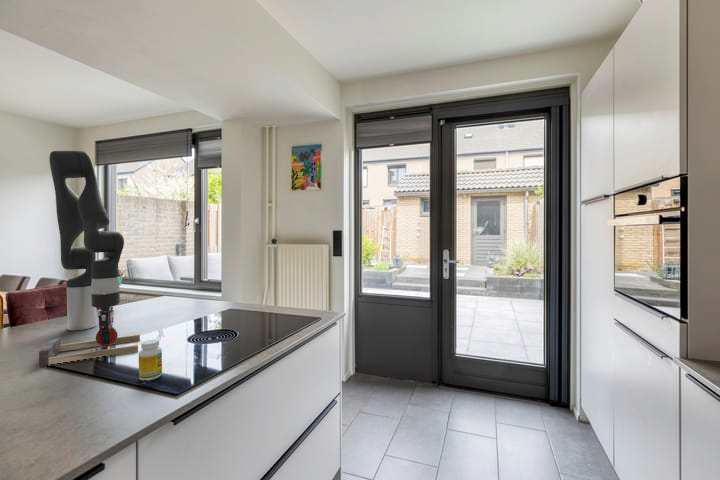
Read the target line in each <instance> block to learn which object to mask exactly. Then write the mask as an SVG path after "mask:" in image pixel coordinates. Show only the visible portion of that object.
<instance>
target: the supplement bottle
mask: <svg viewBox="0 0 720 480" xmlns="http://www.w3.org/2000/svg"><path fill="white" fill-rule="evenodd" d="M159 345H160V341H159V339H148V340H145V341H142V342H141V344H140V346H141V350H140V351H138V378H139V380H140V381H144V380H145V381H146V380H147V381H152V380H155V379H158V378H160V377H161V376H162V375H163V359H162V358H163V357H162V356H163V352H162V351H163V350H162V348H161V347H159Z"/></svg>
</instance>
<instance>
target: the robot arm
mask: <svg viewBox="0 0 720 480" xmlns="http://www.w3.org/2000/svg"><path fill="white" fill-rule="evenodd" d="M48 162H49V167H50V172H51V177H52V182H53V187H54V194H55V204H56V205H55V206H56V208H55V209H56V220H57V224H58V225H57V226H58V230H59V237H60V239H59V240H60V241H59V242H60V263H61V267H62V268H63V270H66V271H67V270H68V271H71V270H74V271H75V270H85V271H84V272H83V273H82V274H80V275H78V276H76V277H72V278H68V279H67V280H66V283H65V285H66V311H67V314H66V315H67V330H68V331H81V330H87V329H91V328H95V327H96V326H97V321H98V326H99V327H98V328H99V329H98V331H99V333H100V334H101V344H102V345H105V344H109V343H110V326H111V327H113V323H114V321H115V320H114V319H115V318H114V315H115V309H114V306H118V305H119V304H120V303H121V296H120V294H121V293H120V288H121V287H120V279H119V264H120V263H119V262H120V259H121V255H122V253H123V249H124V245H125V240H124V236H123V234H122V233H120V232H119V231H116V230H101V229H104V228H106V227H108V225H110V218H109V215H108V213H107V210H106V208H105V206H104V203H103V200H102V196H101V192H100V188H99V183H98V179H97V175H96V171H95V166H94V163H93V160H92V158H91V156H90V154H89V153H88V152H86V151H82V150H52V151H51V152H50V154H49V161H48ZM79 178H80V179H81V178H84V180H85V185H84V188H83V189H82V191H81V193H80V196H79V195H78V194H77V193H75V191H73V189H72V188H71V187H70V186H69V185H68V183H67V181H66V180H67V179H79ZM82 233H83V246H73V245H74V243H75V241H76V240H77V238H78V237H79V236H80V235H81V234H82ZM98 253H100V254H101V253H106V254H105V256H104V257H102V258H101V259H96V257H97V254H98ZM97 308H100V310H99V312H97ZM97 317H98V318H97ZM97 319H98V320H97ZM104 326H107V328H105V329H103V327H104Z"/></svg>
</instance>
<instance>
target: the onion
mask: <svg viewBox="0 0 720 480" xmlns="http://www.w3.org/2000/svg"><path fill="white" fill-rule="evenodd" d="M105 328H107V326H104V327H103V329H105ZM117 337H119V335H118V332H117V330H116V329H115V328H114V327H113V326H112V327H111V326H110V343H109V344H105V345H102V344H101V334H100V333H99V330H98V331H97V332H96V335H95V340H96V342H97V343H98V344H100V345H101V346H100V347H103V348H109V347H110V346H111V345H114V344H113V343H114V342H115V341H116V339H117Z"/></svg>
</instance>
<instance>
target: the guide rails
mask: <svg viewBox="0 0 720 480" xmlns="http://www.w3.org/2000/svg"><path fill="white" fill-rule="evenodd" d="M137 341H138V342H139V341H141V334H140V333H137V334H131V335H122V336H117V339H116V341H115V342H114V343H113V344H112V345H117V344H124V343H130V342H131V343H132V342H137ZM96 347H102V346H101V345H100V344H98V343H97V342H96V339H94V340H93V339H91V340H85V341H78V342H71V343H63V344H61V336H60V337H54V338H53V337H52V338H51V339H50V340H49V341H48V342H47V343H46V344H45V345H44V346H43V347H42V348H41V349H40V350H39V351H38V360H39V361H38V362H39V363H38V364H39V368H41V367H48V366H51V365H50V364H55V365H58V364H57V363H61V364H64V363H63V362H68V363H71V362H70V361H74V362H78V361H77V360H80V361H84V360H83V359H87V360H90V359H89V358H93V359H97V358H96V357H100V358H103V357H102V356H106V357H110V356H109V355H112V356H117V355H118V354H119V355H124V354H131V353H137V352H138V353H139V344H131V345H127V346H119V347H112V348H104V349H97V350H91V351H85V352H84V351H83V352H77V353H71V354H65V355H64V354H63V355H58V354H60V352H67V351H73V350H74V351H75V350H81V349H82V350H83V349H89V348H96ZM47 365H48V366H47Z"/></svg>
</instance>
